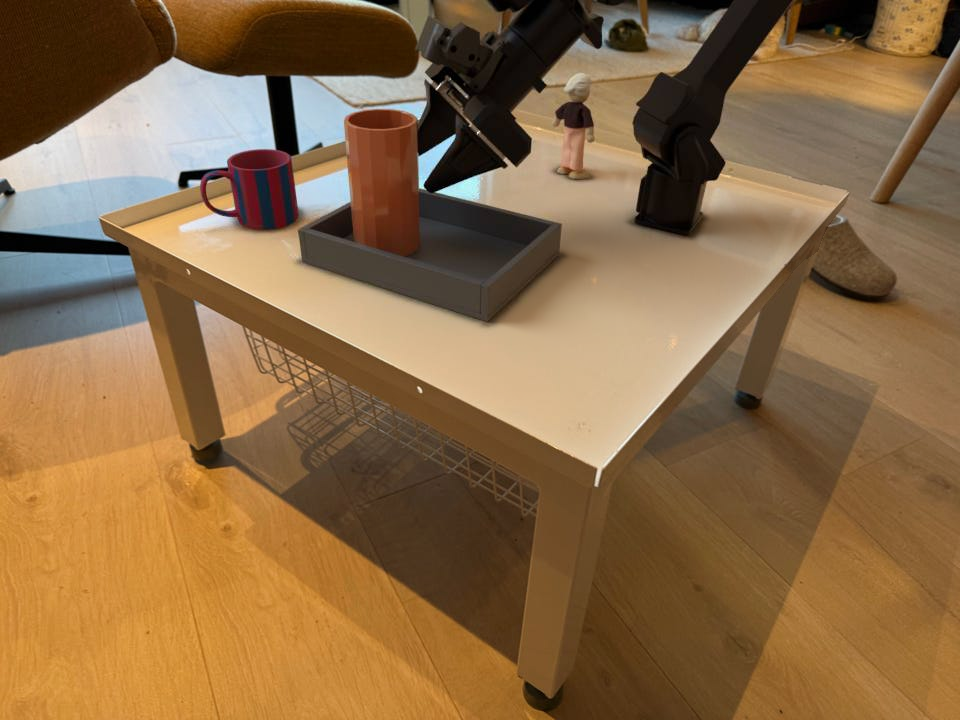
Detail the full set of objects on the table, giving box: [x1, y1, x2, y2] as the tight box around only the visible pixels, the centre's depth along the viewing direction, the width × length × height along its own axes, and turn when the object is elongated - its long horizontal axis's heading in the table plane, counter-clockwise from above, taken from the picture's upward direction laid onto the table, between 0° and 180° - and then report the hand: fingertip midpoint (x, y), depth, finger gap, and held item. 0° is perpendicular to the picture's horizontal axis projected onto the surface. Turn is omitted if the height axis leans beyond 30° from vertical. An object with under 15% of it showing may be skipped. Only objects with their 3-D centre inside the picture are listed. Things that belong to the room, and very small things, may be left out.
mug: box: [199, 148, 300, 231], centre depth 76 cm, size 7×10×7 cm
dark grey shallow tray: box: [297, 187, 563, 323], centre depth 71 cm, size 22×16×4 cm
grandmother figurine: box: [551, 72, 596, 180], centre depth 90 cm, size 8×4×13 cm, turn 46°
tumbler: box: [343, 108, 420, 257], centre depth 69 cm, size 7×7×13 cm
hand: (416, 172), depth 69 cm, fingers open, 9 cm apart
